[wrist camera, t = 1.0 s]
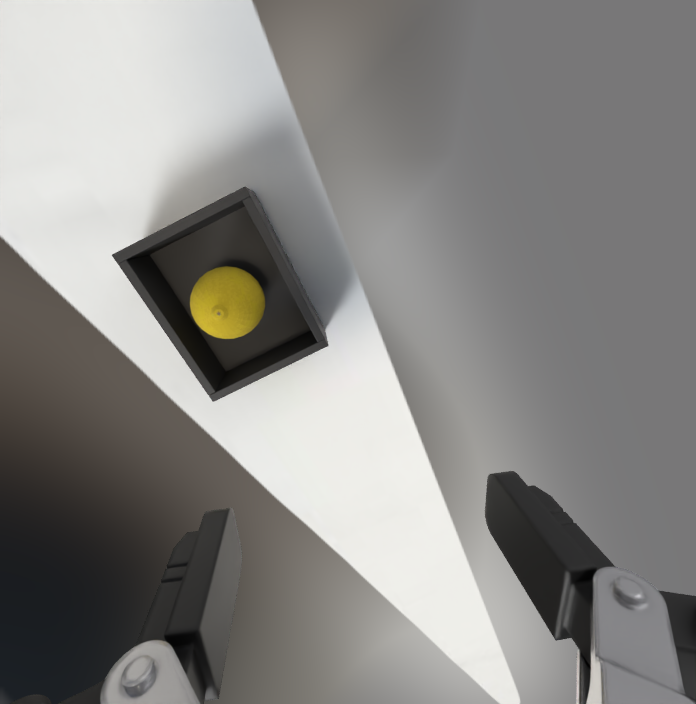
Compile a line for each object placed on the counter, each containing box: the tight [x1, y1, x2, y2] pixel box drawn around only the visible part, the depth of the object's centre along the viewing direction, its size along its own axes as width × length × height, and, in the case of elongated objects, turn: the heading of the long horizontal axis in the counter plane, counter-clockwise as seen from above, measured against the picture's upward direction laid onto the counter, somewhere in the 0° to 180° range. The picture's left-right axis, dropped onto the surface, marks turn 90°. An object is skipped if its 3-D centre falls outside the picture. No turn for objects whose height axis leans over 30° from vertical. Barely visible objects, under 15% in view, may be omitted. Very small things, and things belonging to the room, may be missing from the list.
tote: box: [112, 187, 328, 402], centre depth 31 cm, size 13×11×5 cm
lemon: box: [190, 266, 265, 339], centre depth 29 cm, size 6×6×8 cm
